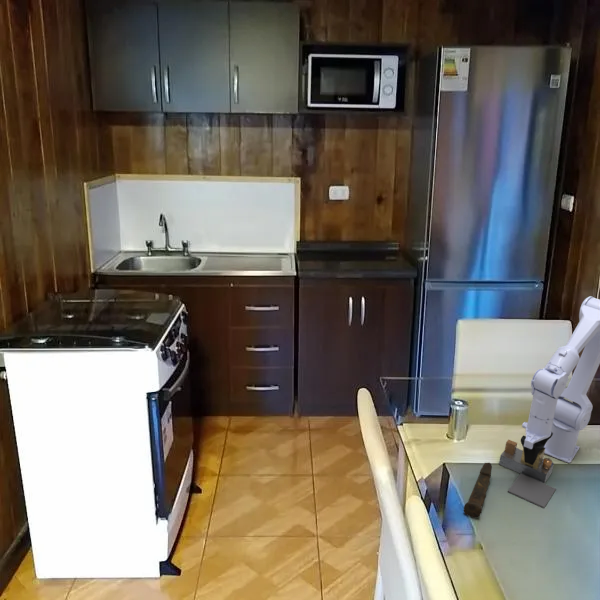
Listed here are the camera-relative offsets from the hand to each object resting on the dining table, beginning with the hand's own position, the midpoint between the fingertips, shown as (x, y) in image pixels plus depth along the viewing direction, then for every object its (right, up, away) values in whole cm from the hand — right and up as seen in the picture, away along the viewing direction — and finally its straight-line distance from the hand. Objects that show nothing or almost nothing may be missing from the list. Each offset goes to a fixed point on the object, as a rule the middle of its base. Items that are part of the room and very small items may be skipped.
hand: (532, 458), depth 157 cm
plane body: (-1, -3, +2) cm, 4 cm away
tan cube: (0, -1, 0) cm, 1 cm away
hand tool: (-17, -7, -8) cm, 20 cm away
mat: (-3, -6, -6) cm, 9 cm away
